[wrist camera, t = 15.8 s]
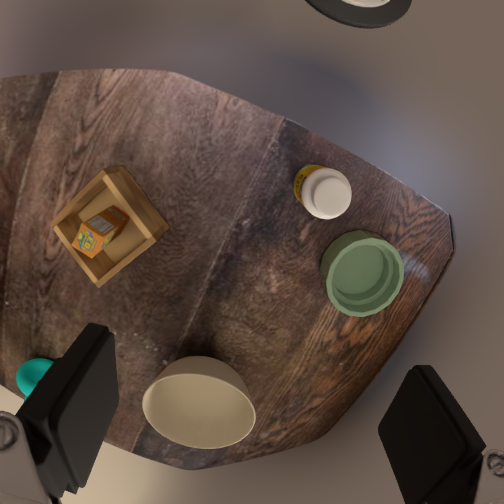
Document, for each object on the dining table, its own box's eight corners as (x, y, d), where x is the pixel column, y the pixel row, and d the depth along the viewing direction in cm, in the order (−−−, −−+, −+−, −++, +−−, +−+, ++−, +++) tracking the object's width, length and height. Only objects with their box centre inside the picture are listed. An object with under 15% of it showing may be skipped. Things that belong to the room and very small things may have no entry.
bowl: (193, 416, 53) (186, 457, 44) (138, 355, 49) (120, 395, 39) (271, 386, 51) (275, 430, 41) (219, 316, 47) (213, 356, 37)
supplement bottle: (290, 165, 40) (303, 171, 30) (332, 162, 40) (357, 167, 30) (293, 208, 42) (307, 226, 32) (334, 204, 42) (359, 222, 32)
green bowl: (304, 258, 44) (310, 270, 40) (370, 214, 42) (383, 221, 38) (342, 315, 47) (350, 330, 43) (401, 274, 45) (414, 286, 41)
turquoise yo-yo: (73, 365, 50) (50, 399, 40) (78, 401, 53) (60, 434, 43) (31, 349, 49) (5, 378, 40) (38, 385, 52) (17, 415, 43)
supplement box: (121, 237, 42) (90, 261, 32) (102, 223, 41) (67, 244, 32) (132, 217, 41) (102, 237, 32) (113, 203, 40) (78, 219, 31)
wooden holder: (73, 212, 41) (49, 223, 35) (123, 165, 40) (102, 168, 33) (116, 269, 44) (98, 288, 38) (170, 227, 42) (156, 241, 36)
